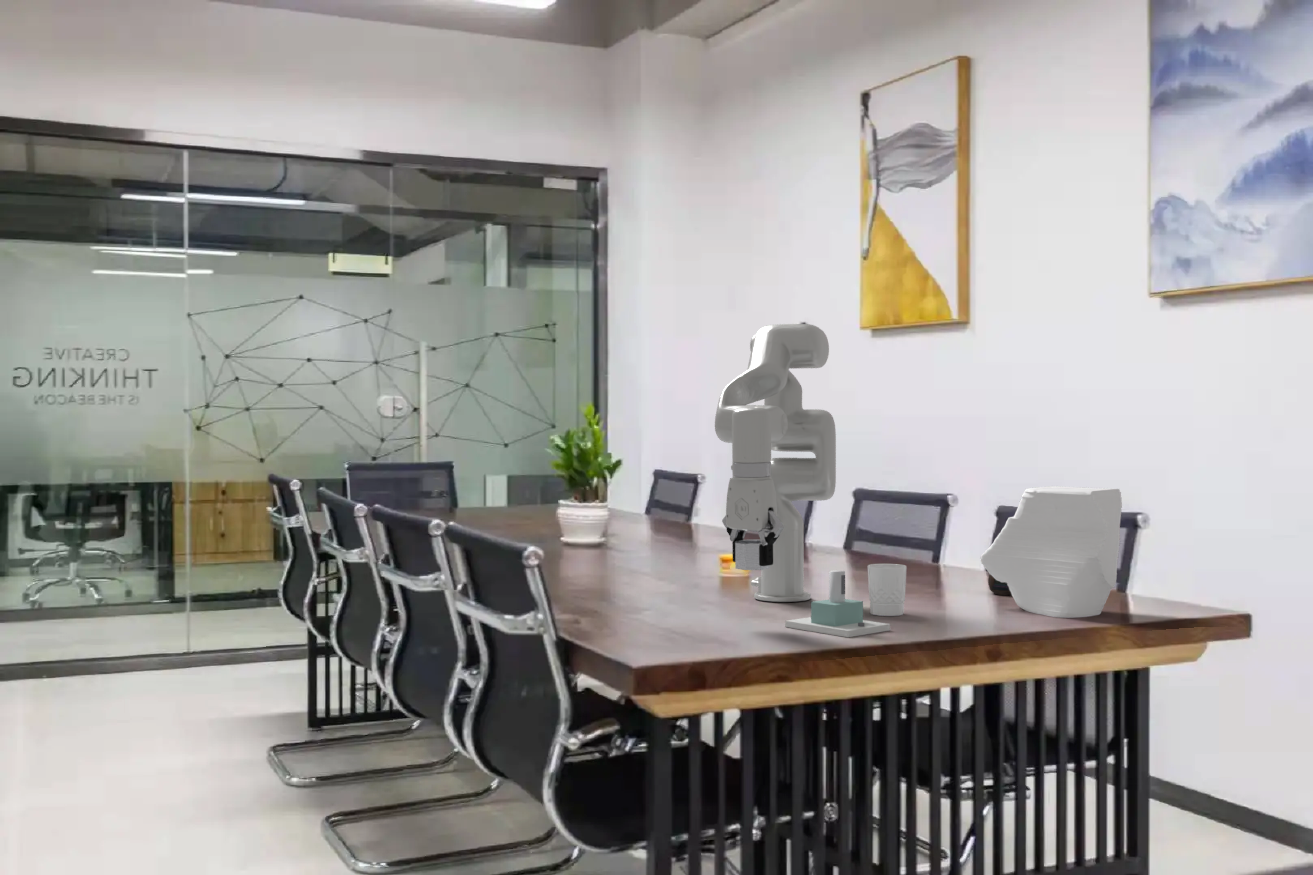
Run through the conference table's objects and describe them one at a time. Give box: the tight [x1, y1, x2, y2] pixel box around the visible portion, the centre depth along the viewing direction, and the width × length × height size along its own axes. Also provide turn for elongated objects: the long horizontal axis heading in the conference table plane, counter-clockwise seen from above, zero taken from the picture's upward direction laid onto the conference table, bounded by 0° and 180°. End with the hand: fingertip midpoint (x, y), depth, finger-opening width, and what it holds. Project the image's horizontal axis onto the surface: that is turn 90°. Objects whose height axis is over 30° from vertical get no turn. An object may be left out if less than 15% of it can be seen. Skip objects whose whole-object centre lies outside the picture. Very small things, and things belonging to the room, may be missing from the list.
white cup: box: [867, 563, 907, 617], centre depth 263 cm, size 8×8×10 cm
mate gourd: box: [987, 573, 1012, 596], centre depth 293 cm, size 7×8×10 cm
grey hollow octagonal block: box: [734, 539, 770, 571], centre depth 248 cm, size 7×7×5 cm
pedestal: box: [784, 569, 891, 638], centre depth 245 cm, size 16×12×11 cm
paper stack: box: [979, 485, 1123, 619], centre depth 269 cm, size 21×27×26 cm
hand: (752, 562), depth 248 cm, fingers closed on grey hollow octagonal block, 6 cm apart
